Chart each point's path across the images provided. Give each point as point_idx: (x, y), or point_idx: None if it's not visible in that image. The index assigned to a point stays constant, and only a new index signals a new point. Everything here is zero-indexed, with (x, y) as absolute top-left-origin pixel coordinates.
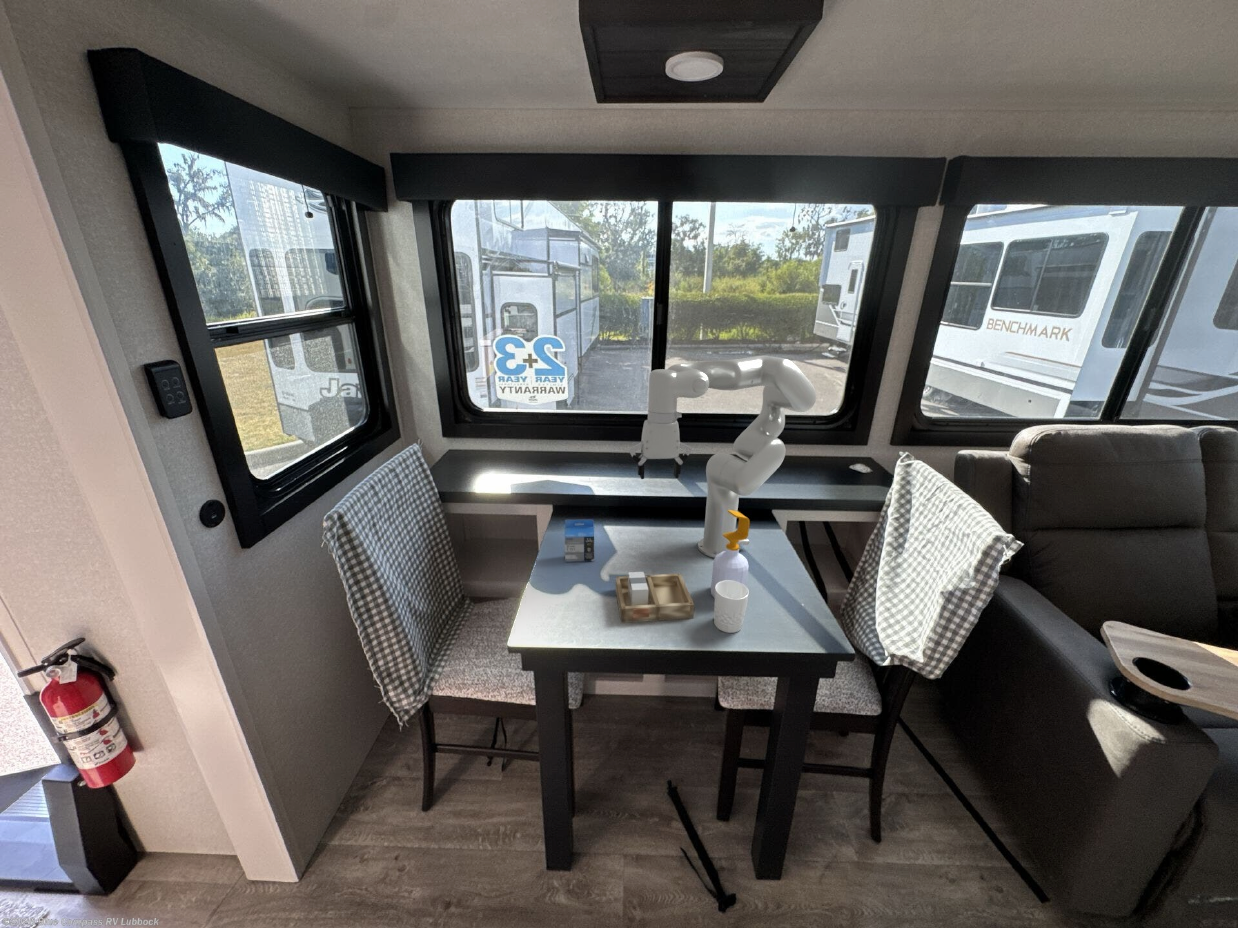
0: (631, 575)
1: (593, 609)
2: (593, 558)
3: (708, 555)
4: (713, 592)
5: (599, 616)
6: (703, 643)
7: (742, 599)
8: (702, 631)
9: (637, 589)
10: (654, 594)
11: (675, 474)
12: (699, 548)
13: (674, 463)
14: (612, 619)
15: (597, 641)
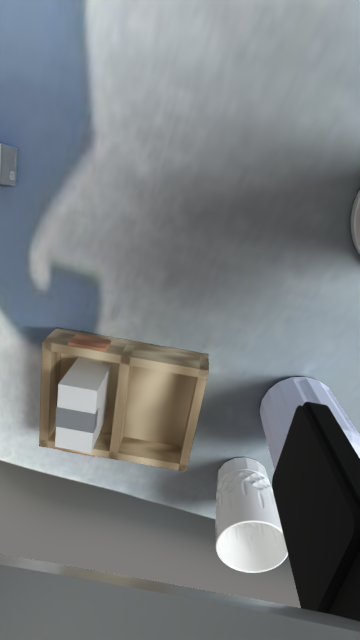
0: (63, 397)
1: (3, 378)
2: (9, 185)
3: (357, 251)
4: (261, 417)
5: (13, 399)
6: (176, 499)
7: (255, 570)
8: (188, 478)
9: (66, 447)
10: (117, 424)
11: (281, 491)
12: (354, 210)
13: (340, 528)
14: (37, 413)
15: (5, 453)
